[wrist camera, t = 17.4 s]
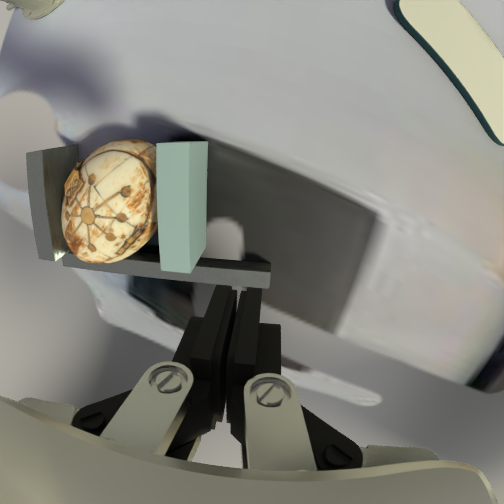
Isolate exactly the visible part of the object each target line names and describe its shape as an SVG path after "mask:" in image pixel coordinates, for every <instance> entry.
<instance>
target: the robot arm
mask: <svg viewBox="0 0 504 504" xmlns="http://www.w3.org/2000/svg"><path fill="white" fill-rule="evenodd" d="M1 1H5V2H7V3H10V4H9V5H7V10H11V9H13V8H14V7H15V6H16V7H20V8H22V11H23V14H24V16H25V17H27V18H29V19H38V18H41V17H43V16H45V15H47V14H48V13H50V12H51V11H53V10H54V9H55V8H56V7H58V6H59V5H60V4H61V3H62V2H63V1H64V0H1ZM261 296H262V288H252V287H247V291H241V294H240V299H239V304H238V308H237V290H232V287H231V286H228V285H216V287H215V290H214V292H213V295H212V298H211V300H210V303H209V306H208V308H207V311H206V314H205V316H204V318H203V317H195V316H192V317H191V318H190V320H189V323H188V325H187V327H186V330H185V332H184V334H183V337H182V339H181V341H180V344H179V346H178V348H177V351H176V353H175V355H174V358H173V360H172V362H162V363H158V364H155V365H154V366H152V367H150V368H149V369H148V370H147V371H146V373H145V374H144V375H143V376H142V378H141V379H140V381H139V382H138V383H137V385H136V386H135V387H134V389H132V390H129V391H127V392H124V393H122V394H119V395H116V396H113V397H110V398H108V399H105V400H102V401H99V402H97V403H93V404H91V405H87V406H85V407H83V408H81V409H80V410H79V409H77V408H76V406H72V405H66V404H60V403H55V402H49V401H44V400H39V399H35V398H24V399H21V400H20V401H18V402H17V401H15V400H12V399H9V398H5V397H2V396H0V504H498V502H497V499H496V496H495V494H494V492H493V490H492V487H491V486H490V483H489V482H488V480H487V478H486V477H485V476H484V474H483V473H482V472H481V471H480V470H479V469H477V468H475V467H474V466H471V465H468V464H464V463H460V462H453V461H441V460H439V458H438V456H437V455H436V454H435V452H433V451H432V450H430V449H427V448H421V447H419V448H418V447H392V446H378V445H368V446H367V447H359V446H358V445H357V444H356V443H354V442H353V441H352V440H350V439H349V438H347V437H346V436H344V435H343V434H341V433H340V432H338V431H337V430H335V429H334V428H333V427H331V426H330V425H328V424H327V423H325V422H324V421H323V420H321V419H320V418H318V417H317V416H315V415H314V414H313V413H311V412H310V411H309V410H307V409H306V408H305V407H303V406H302V405H301V404H300V400H299V397H298V393H297V389H296V387H295V385H294V384H293V383H292V382H291V381H290V380H289V379H288V378H286V377H284V376H282V375H281V325H280V324H267V323H266V324H265V323H259V321H260V308H261ZM236 310H237V313H236ZM225 404H226V408H227V409H226V411H227V423H231V434H232V435H233V436H234V437H235V438H236V439H237V440H238V441H239V442H240V443H241V459H242V469H240V468H230V467H222V466H215V465H208V464H202V463H196V462H192V459H193V457H194V455H195V453H196V450H197V448H198V446H199V443H200V441H201V435H203V434H205V433H207V432H209V431H211V429H215V425H216V421H218V422H222V419H223V415H224V409H225Z"/></svg>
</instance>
